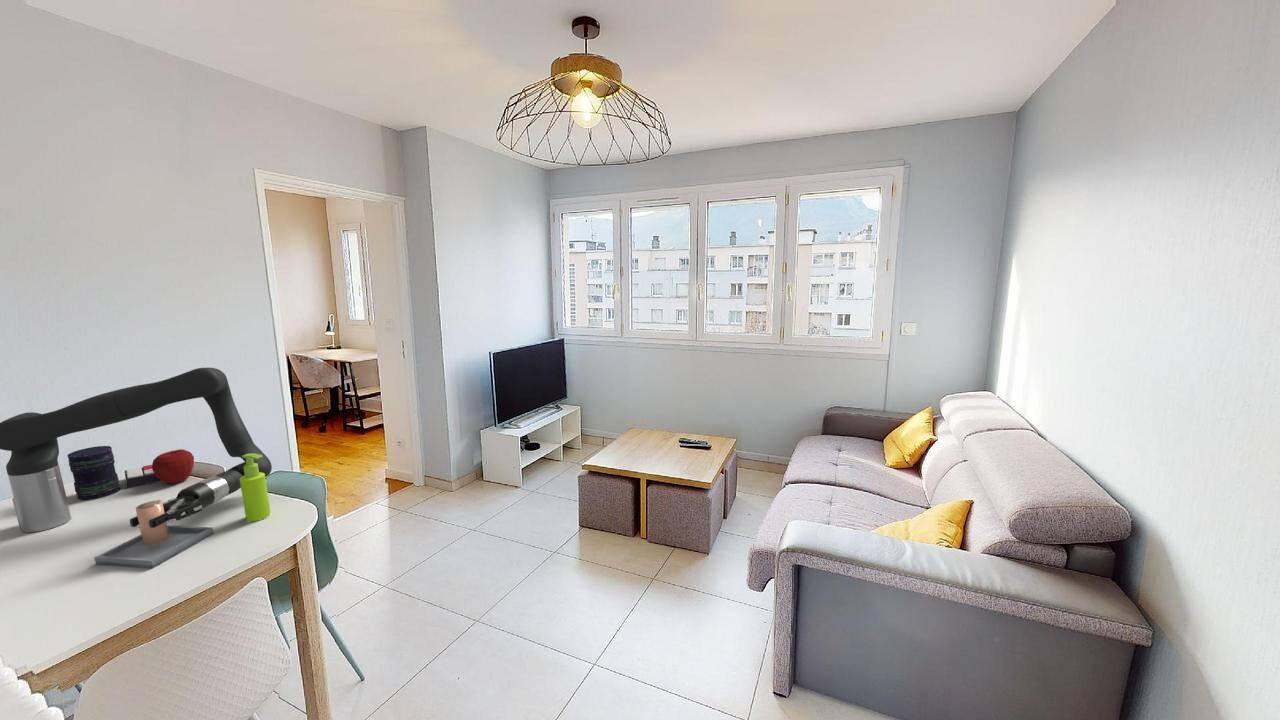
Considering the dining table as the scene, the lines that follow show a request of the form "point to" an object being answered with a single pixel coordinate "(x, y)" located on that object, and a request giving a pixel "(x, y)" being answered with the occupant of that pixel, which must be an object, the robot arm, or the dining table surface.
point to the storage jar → (94, 472)
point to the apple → (173, 466)
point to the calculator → (140, 476)
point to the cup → (144, 515)
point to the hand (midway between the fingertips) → (141, 523)
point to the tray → (154, 548)
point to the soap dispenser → (254, 490)
